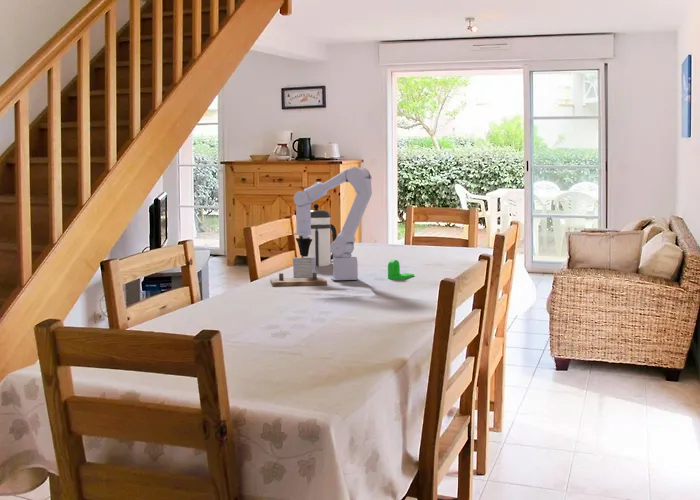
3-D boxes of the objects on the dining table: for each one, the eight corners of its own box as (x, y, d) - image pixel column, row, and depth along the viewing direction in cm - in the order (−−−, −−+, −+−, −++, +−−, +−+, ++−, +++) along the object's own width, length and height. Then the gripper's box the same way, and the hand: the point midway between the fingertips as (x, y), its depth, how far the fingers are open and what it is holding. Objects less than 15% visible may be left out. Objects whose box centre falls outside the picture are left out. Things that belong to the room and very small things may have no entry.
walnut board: (321, 281, 300) (321, 270, 300) (327, 285, 285) (326, 274, 285) (270, 282, 297) (270, 272, 297) (272, 286, 282) (272, 275, 282)
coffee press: (335, 273, 330) (335, 203, 328) (298, 274, 330) (297, 203, 328) (337, 270, 347) (336, 203, 345) (301, 270, 347) (300, 203, 346)
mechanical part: (401, 281, 298) (401, 261, 297) (387, 280, 301) (387, 260, 301) (416, 278, 308) (416, 258, 307) (403, 278, 311) (403, 258, 311)
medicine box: (315, 279, 308) (315, 257, 308) (312, 280, 304) (311, 258, 304) (296, 278, 311) (296, 257, 310) (293, 279, 306) (292, 258, 306)
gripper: (291, 221, 313) (292, 254, 313) (295, 222, 298) (295, 257, 299) (309, 221, 314) (309, 254, 314) (313, 222, 299) (313, 256, 300)
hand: (304, 255), depth 307 cm, fingers open, 7 cm apart
